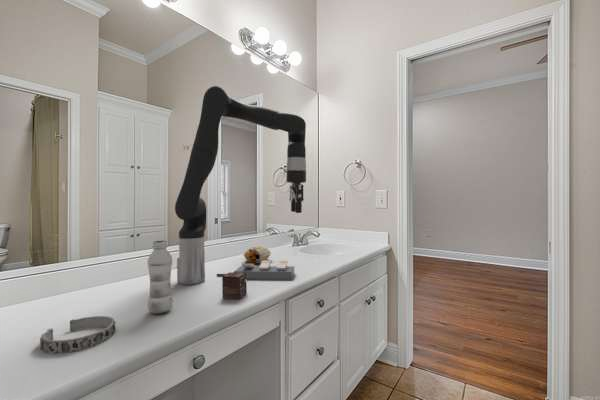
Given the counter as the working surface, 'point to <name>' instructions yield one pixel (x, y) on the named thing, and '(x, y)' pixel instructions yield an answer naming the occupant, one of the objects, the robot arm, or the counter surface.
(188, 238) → the robot arm
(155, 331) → the counter surface
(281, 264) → the rocker right
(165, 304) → the plastic bottle
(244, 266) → the rocker left
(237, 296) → the box
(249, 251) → the nautilus
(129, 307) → the counter surface
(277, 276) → the power strip
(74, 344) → the bracelet
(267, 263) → the rocker middle
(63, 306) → the counter surface
